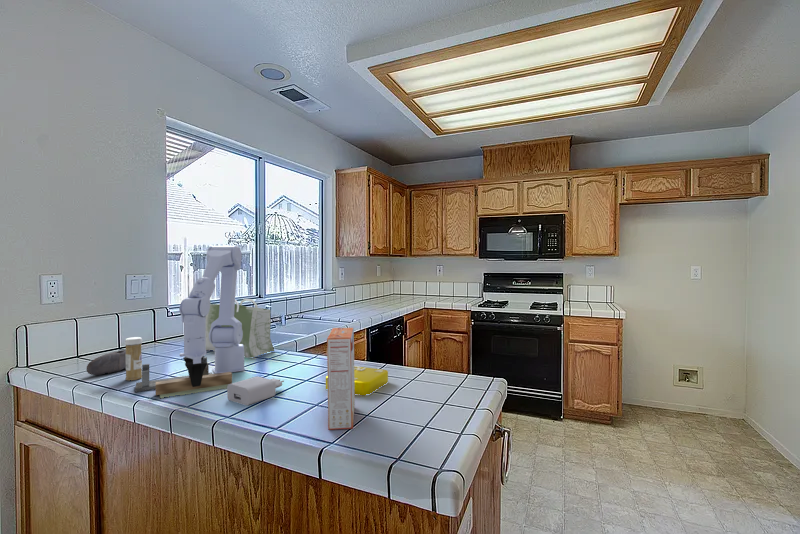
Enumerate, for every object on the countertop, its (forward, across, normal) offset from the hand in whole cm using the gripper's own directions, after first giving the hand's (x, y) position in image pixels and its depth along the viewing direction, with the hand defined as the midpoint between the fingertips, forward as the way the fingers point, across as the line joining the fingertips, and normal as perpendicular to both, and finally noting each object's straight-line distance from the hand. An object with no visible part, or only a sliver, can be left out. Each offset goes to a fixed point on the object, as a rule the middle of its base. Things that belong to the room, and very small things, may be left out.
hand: (195, 382), depth 115 cm
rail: (+2, 0, 0) cm, 2 cm away
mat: (+2, 0, 0) cm, 2 cm away
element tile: (+3, +24, +42) cm, 48 cm away
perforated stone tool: (+2, -37, -23) cm, 44 cm away
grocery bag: (+2, -49, +21) cm, 53 cm away
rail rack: (+2, -10, -4) cm, 11 cm away
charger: (+2, +16, +15) cm, 22 cm away
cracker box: (+2, +44, +28) cm, 52 cm away
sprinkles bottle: (+2, -23, -16) cm, 28 cm away
